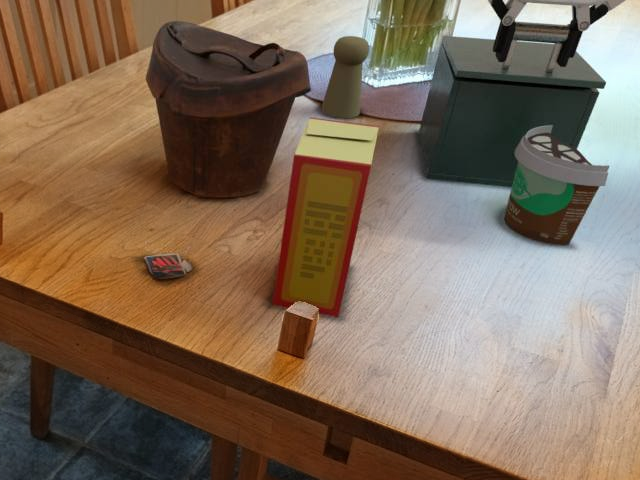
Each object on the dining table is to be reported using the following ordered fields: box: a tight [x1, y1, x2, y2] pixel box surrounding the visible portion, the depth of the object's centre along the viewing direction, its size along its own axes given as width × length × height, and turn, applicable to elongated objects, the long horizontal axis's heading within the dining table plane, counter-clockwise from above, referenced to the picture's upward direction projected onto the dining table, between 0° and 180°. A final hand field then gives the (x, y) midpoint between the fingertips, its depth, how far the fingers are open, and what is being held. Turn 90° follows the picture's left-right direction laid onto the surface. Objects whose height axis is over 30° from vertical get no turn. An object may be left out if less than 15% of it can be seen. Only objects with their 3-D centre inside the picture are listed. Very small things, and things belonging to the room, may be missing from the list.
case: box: [145, 20, 312, 199], centre depth 88 cm, size 18×20×18 cm
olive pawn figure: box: [320, 35, 370, 119], centre depth 110 cm, size 6×6×11 cm
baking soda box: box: [272, 117, 380, 318], centre depth 69 cm, size 10×6×16 cm
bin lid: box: [441, 20, 607, 90], centre depth 90 cm, size 17×17×6 cm
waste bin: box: [418, 41, 600, 188], centre depth 96 cm, size 17×17×13 cm
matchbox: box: [141, 252, 193, 282], centre depth 77 cm, size 5×5×1 cm
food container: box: [503, 125, 610, 246], centre depth 82 cm, size 12×6×10 cm, turn 6°
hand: (530, 59), depth 86 cm, fingers closed on bin lid, 6 cm apart
